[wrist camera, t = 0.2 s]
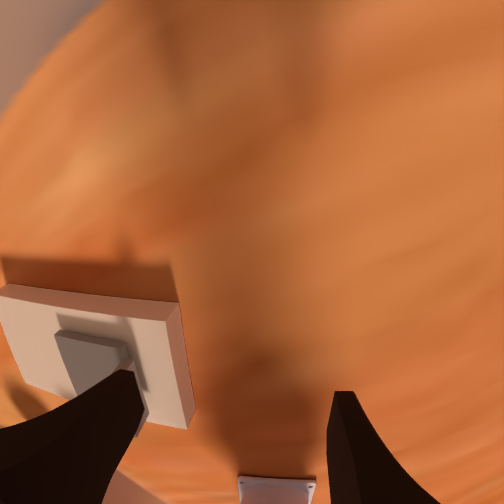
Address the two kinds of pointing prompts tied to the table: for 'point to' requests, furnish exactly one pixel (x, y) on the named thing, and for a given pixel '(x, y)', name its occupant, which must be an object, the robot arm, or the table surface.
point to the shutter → (95, 361)
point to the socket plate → (104, 326)
